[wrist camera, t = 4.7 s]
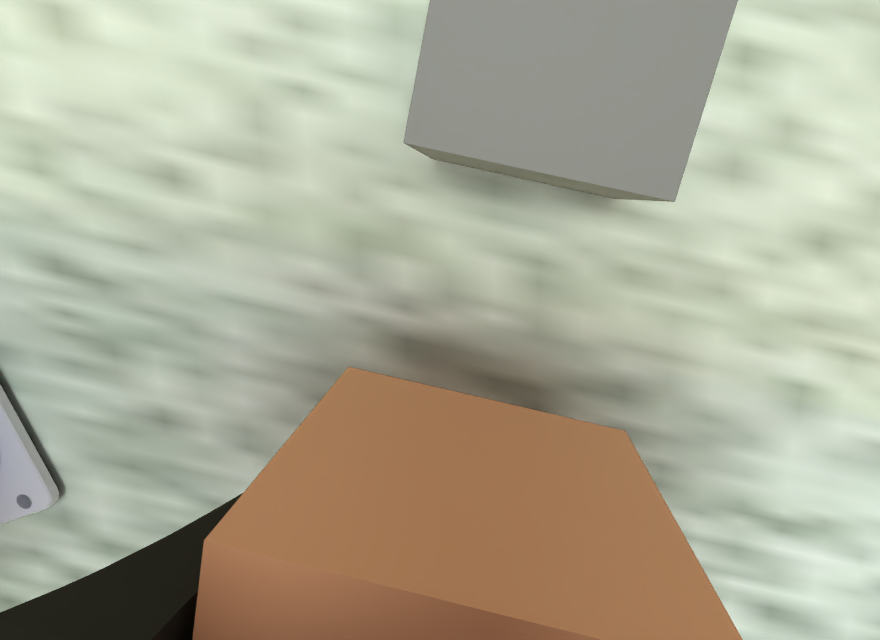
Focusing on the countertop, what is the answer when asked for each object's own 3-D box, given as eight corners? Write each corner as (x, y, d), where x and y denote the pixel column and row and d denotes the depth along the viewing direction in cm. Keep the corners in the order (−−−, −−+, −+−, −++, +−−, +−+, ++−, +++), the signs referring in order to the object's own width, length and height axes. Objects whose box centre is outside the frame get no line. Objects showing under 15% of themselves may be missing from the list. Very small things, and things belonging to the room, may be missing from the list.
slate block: (614, 198, 15) (674, 201, 10) (433, 159, 15) (403, 142, 10) (672, -5, 13) (774, -118, 8) (474, -45, 14) (463, -178, 9)
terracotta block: (552, 659, 11) (602, 1047, 6) (307, 597, 11) (159, 922, 6) (625, 431, 9) (764, 680, 5) (348, 366, 10) (204, 540, 5)
